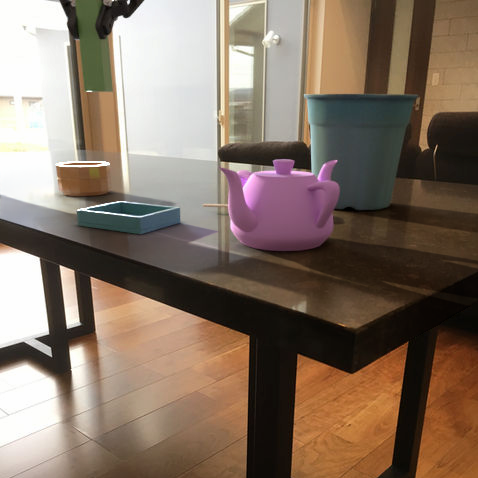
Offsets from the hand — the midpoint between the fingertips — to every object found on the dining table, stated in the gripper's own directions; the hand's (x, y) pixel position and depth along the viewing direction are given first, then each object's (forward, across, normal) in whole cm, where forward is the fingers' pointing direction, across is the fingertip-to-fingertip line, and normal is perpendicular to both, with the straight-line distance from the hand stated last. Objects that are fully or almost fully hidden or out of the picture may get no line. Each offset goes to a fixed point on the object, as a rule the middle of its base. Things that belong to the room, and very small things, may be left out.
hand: (87, 33), depth 68 cm
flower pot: (+8, +36, +25) cm, 45 cm away
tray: (+23, +7, +10) cm, 26 cm away
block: (+3, 0, +6) cm, 7 cm away
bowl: (+5, -10, +28) cm, 30 cm away
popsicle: (+15, +22, +18) cm, 32 cm away
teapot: (+27, +28, +6) cm, 39 cm away
